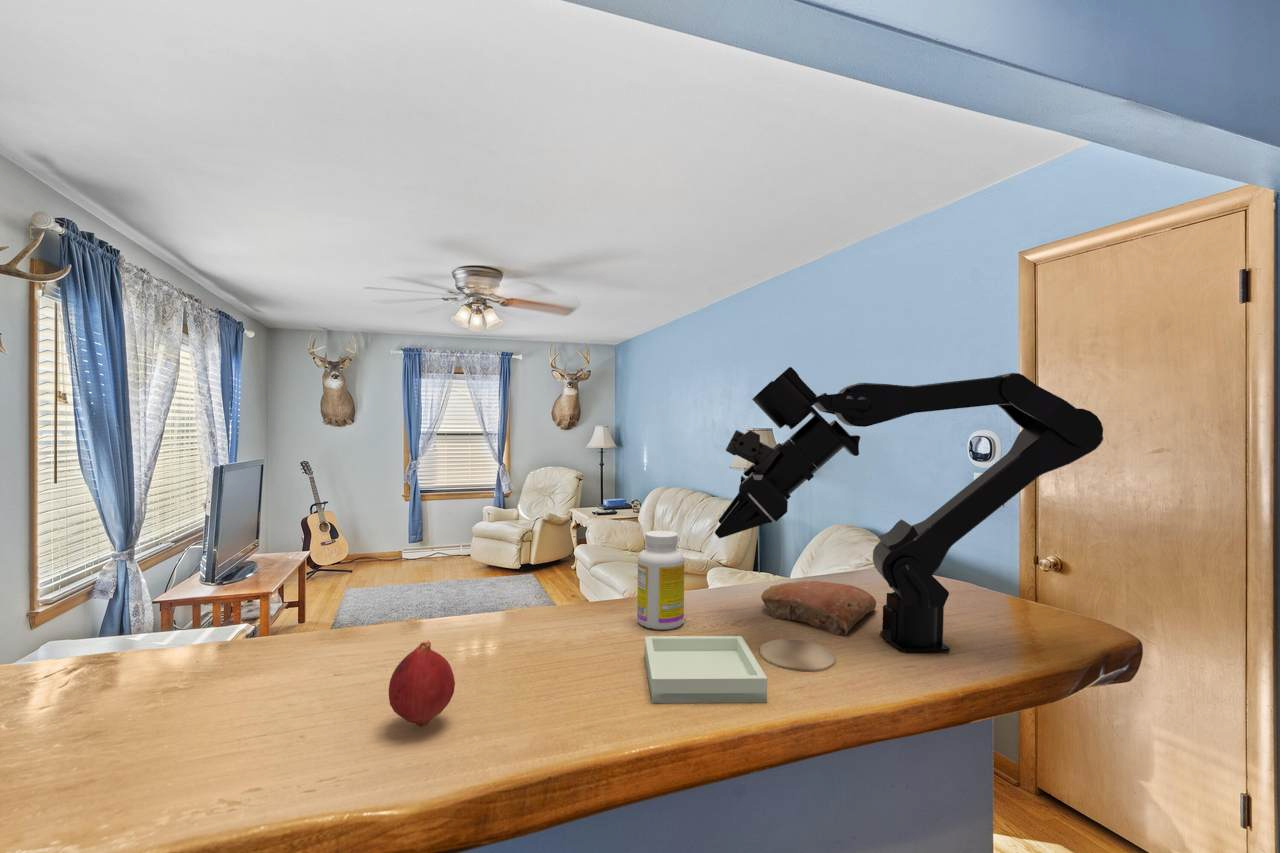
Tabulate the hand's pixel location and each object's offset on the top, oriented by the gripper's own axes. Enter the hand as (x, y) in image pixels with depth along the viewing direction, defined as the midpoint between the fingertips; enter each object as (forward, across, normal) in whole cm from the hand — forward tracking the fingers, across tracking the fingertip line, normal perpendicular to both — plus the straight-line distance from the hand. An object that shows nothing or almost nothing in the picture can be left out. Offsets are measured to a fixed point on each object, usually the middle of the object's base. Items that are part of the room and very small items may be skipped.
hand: (718, 529), depth 84 cm
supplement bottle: (+16, 0, +4) cm, 16 cm away
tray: (+10, +17, +9) cm, 22 cm away
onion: (+28, +33, -8) cm, 44 cm away
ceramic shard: (0, -10, +20) cm, 23 cm away
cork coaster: (+2, +8, +17) cm, 19 cm away
